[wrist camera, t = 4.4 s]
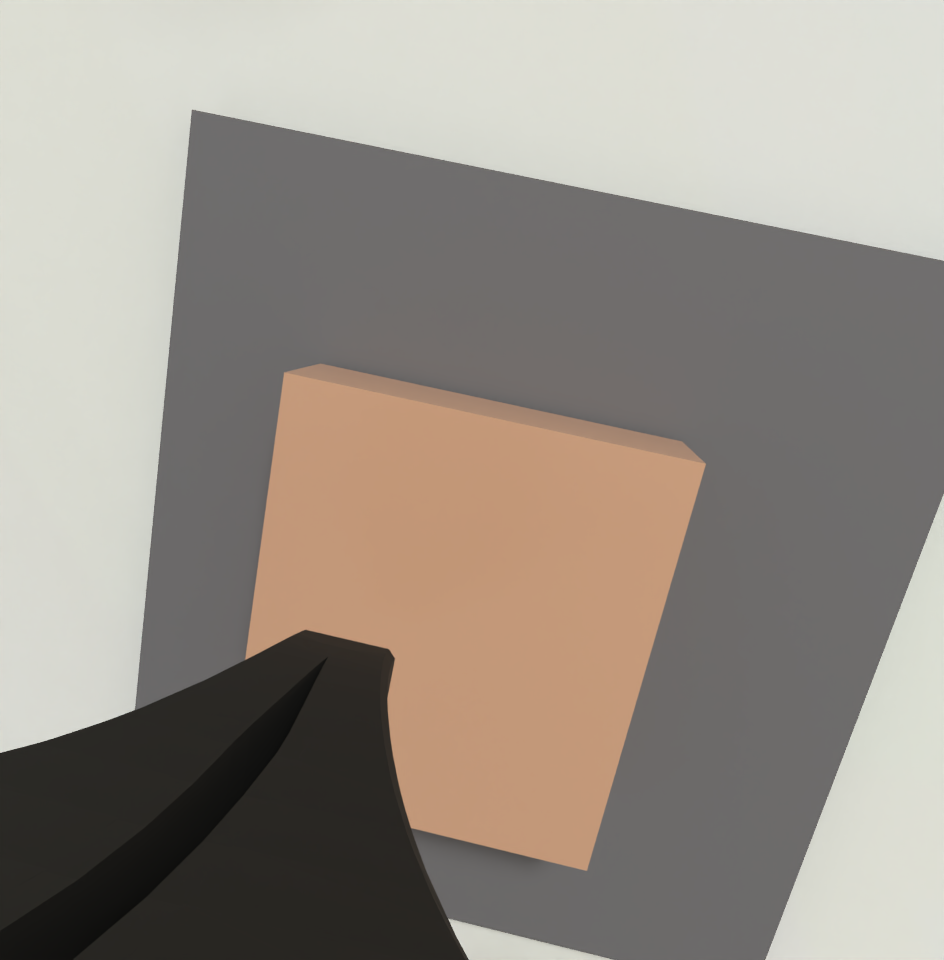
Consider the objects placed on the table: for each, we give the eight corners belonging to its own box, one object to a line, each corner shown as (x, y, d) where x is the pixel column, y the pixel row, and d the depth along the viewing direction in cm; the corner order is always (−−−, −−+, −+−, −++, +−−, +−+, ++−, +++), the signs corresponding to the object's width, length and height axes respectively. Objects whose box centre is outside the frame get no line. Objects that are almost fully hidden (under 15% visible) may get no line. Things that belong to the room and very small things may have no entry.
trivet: (745, 970, 17) (752, 994, 16) (137, 819, 17) (123, 836, 17) (1004, 279, 13) (1026, 277, 12) (206, 118, 14) (191, 109, 13)
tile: (269, 721, 16) (580, 795, 15) (228, 783, 14) (587, 870, 13) (323, 362, 14) (680, 439, 13) (283, 372, 12) (706, 463, 11)
